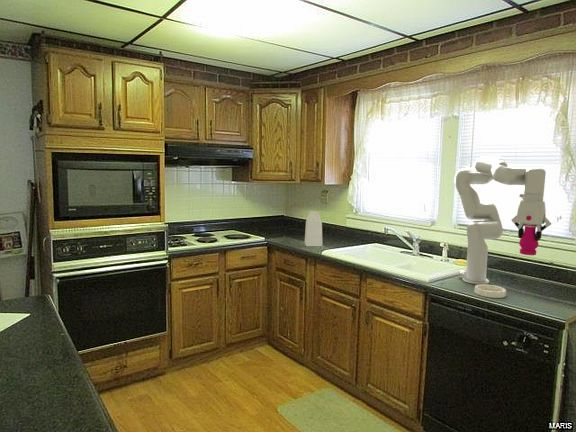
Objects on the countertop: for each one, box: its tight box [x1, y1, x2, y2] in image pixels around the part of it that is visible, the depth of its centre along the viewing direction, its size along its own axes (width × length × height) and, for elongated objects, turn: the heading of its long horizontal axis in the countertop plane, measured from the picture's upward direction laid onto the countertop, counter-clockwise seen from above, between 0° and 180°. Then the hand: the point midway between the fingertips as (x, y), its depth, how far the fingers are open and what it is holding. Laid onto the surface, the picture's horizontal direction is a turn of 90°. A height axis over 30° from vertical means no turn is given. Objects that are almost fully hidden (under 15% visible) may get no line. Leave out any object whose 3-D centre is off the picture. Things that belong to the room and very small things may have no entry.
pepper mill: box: [519, 216, 539, 256], centre depth 178 cm, size 7×7×20 cm
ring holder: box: [473, 284, 507, 299], centre depth 193 cm, size 13×13×3 cm
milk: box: [304, 210, 323, 247], centre depth 302 cm, size 12×12×26 cm
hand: (529, 238), depth 179 cm, fingers closed on pepper mill, 5 cm apart
